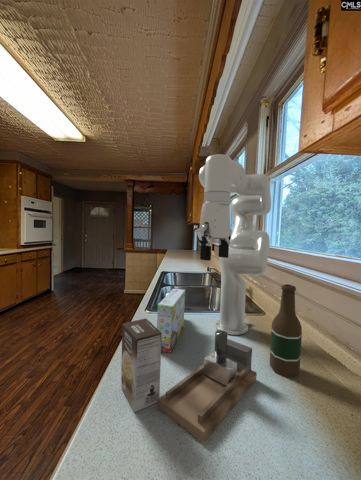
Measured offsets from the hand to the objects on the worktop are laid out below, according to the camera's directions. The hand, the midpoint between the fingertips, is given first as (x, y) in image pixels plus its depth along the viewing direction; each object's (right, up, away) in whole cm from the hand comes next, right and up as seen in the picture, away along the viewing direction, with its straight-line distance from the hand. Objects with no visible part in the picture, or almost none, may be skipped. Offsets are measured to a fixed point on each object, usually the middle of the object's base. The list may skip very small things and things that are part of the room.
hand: (214, 258), depth 68 cm
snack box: (-13, -30, +15) cm, 36 cm away
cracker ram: (0, -28, -10) cm, 30 cm away
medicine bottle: (-14, -29, +30) cm, 43 cm away
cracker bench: (-3, -31, -13) cm, 34 cm away
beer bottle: (+19, -31, -2) cm, 37 cm away
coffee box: (-20, -31, -14) cm, 39 cm away
